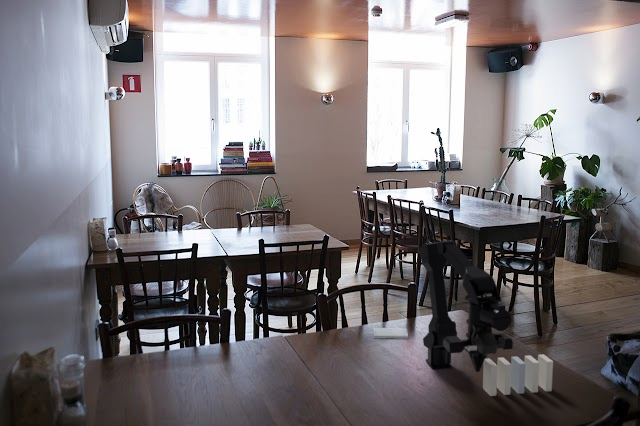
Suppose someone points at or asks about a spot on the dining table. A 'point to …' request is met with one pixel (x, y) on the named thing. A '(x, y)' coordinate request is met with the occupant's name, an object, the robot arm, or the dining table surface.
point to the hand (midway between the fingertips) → (477, 371)
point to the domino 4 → (531, 373)
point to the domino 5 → (545, 372)
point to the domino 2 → (503, 376)
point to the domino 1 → (490, 377)
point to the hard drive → (390, 333)
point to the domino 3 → (517, 374)
